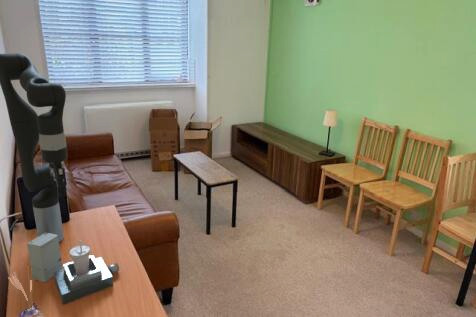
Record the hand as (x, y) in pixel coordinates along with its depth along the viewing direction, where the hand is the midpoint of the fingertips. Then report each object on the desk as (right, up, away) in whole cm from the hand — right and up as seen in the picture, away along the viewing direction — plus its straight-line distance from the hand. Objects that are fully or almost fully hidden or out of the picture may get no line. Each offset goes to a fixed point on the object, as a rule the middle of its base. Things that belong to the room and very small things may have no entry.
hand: (59, 190), depth 115 cm
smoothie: (+7, -29, +3) cm, 30 cm away
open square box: (+8, -33, +5) cm, 34 cm away
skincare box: (-8, -31, +8) cm, 33 cm away
